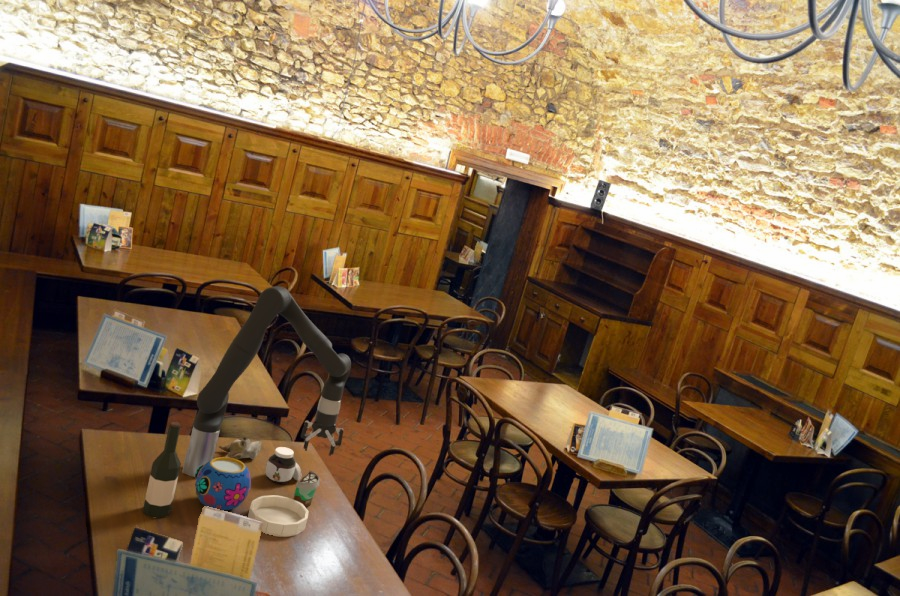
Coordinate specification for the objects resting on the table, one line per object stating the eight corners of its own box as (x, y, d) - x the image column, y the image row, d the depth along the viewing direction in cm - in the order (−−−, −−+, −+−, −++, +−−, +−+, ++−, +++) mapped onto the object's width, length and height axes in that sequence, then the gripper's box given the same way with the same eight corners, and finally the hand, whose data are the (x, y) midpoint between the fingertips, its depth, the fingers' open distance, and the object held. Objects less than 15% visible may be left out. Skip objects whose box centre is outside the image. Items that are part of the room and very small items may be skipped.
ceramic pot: (188, 491, 247) (197, 450, 245) (241, 494, 255) (250, 454, 252) (192, 518, 231) (202, 475, 229) (248, 520, 239) (258, 478, 237)
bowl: (243, 530, 232) (246, 517, 232) (253, 502, 251) (255, 491, 250) (302, 541, 235) (305, 529, 234) (307, 513, 254) (310, 501, 253)
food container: (306, 513, 253) (313, 487, 252) (290, 507, 254) (296, 481, 253) (319, 500, 265) (325, 475, 264) (303, 494, 266) (310, 469, 265)
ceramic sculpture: (265, 443, 280) (226, 443, 273) (262, 464, 282) (222, 465, 274) (259, 432, 289) (220, 432, 282) (256, 452, 291) (217, 452, 283)
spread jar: (260, 477, 271) (267, 448, 269) (278, 469, 281) (284, 441, 279) (287, 489, 267) (294, 460, 265) (304, 480, 277) (311, 452, 276)
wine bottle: (176, 511, 233) (195, 424, 228) (158, 521, 225) (177, 431, 220) (155, 502, 235) (173, 415, 230) (136, 511, 227) (155, 421, 222)
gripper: (307, 408, 250) (296, 452, 252) (348, 417, 252) (337, 460, 254) (309, 401, 257) (298, 444, 259) (348, 410, 259) (338, 452, 261)
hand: (317, 452), depth 257 cm, fingers open, 8 cm apart
